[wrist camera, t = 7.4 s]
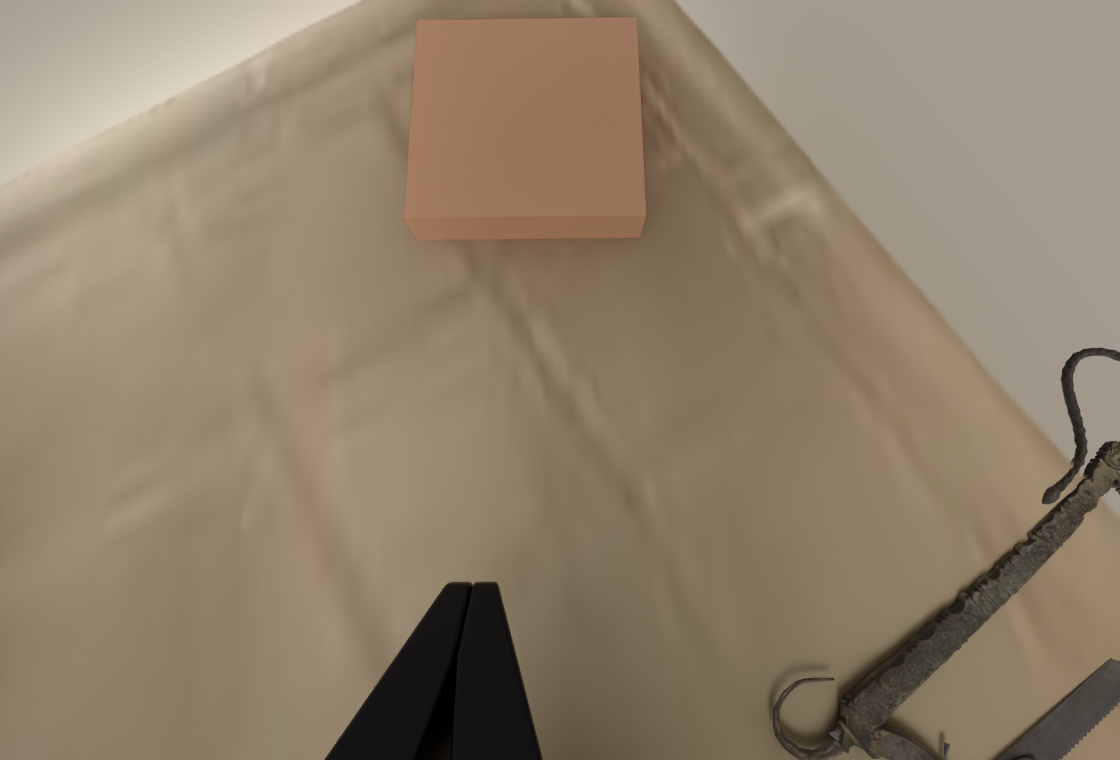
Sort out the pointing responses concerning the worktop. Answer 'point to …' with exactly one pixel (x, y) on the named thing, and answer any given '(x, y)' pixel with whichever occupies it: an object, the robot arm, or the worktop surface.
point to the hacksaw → (954, 625)
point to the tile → (526, 130)
